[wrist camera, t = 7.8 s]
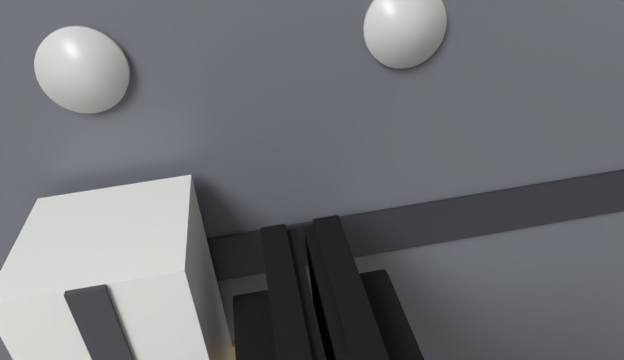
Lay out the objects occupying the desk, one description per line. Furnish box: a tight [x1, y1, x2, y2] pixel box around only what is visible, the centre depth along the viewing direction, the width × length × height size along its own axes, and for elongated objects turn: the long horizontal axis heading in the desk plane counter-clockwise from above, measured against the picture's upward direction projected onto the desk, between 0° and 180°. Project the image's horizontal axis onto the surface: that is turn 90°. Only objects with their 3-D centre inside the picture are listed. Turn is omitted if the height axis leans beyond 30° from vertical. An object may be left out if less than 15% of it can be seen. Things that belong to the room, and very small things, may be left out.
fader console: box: [0, 0, 624, 360], centre depth 14 cm, size 24×14×3 cm, turn 96°
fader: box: [0, 175, 233, 360], centre depth 11 cm, size 3×5×3 cm, turn 6°
